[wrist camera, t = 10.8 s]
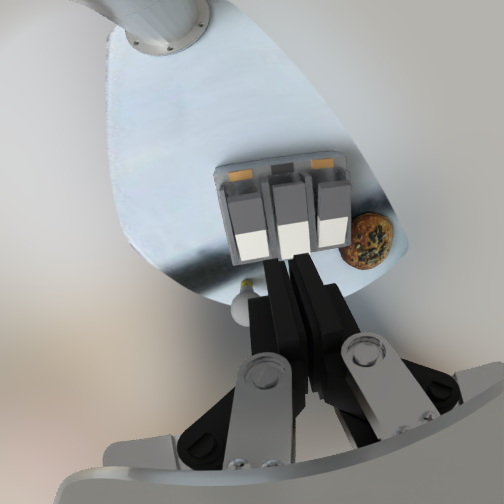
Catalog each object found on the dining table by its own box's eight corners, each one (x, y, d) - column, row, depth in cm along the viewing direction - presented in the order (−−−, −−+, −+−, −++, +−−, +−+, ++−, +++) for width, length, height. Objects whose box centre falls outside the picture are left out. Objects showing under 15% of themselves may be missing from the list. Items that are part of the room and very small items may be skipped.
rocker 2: (271, 185, 33) (272, 187, 32) (302, 180, 33) (304, 183, 32) (280, 254, 38) (282, 259, 37) (308, 250, 38) (310, 254, 37)
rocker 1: (227, 196, 32) (227, 203, 31) (259, 191, 32) (261, 197, 31) (240, 253, 39) (241, 261, 38) (267, 249, 39) (269, 256, 38)
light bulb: (249, 264, 47) (253, 301, 38) (267, 284, 50) (274, 322, 41) (224, 280, 49) (223, 318, 40) (243, 299, 51) (245, 338, 42)
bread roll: (327, 232, 45) (341, 244, 41) (376, 198, 44) (393, 207, 40) (348, 275, 50) (361, 289, 46) (391, 243, 49) (406, 255, 45)
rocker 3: (317, 182, 32) (321, 188, 31) (347, 179, 32) (351, 185, 31) (316, 241, 39) (318, 247, 38) (341, 236, 39) (344, 243, 38)
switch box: (215, 167, 39) (211, 179, 32) (333, 150, 38) (353, 159, 32) (233, 249, 46) (233, 275, 39) (337, 232, 45) (354, 254, 39)
